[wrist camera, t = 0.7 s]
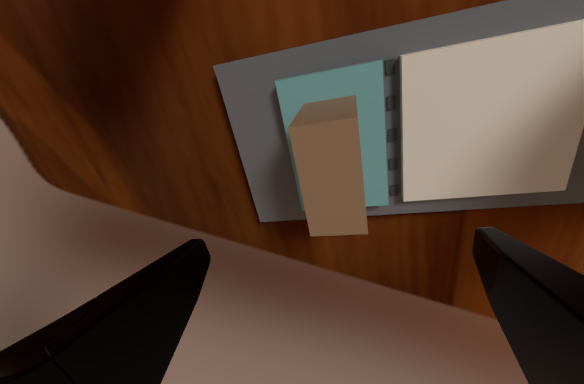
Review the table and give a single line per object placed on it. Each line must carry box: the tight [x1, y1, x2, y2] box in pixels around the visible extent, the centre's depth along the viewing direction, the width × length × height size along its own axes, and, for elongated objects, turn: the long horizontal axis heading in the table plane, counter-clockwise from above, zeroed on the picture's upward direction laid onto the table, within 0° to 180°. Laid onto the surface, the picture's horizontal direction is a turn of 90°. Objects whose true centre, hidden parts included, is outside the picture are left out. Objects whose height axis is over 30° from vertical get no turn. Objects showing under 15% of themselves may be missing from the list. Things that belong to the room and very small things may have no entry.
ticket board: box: [213, 0, 584, 222], centre depth 18 cm, size 22×12×2 cm, turn 101°
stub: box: [275, 60, 389, 236], centre depth 16 cm, size 6×9×6 cm, turn 11°
